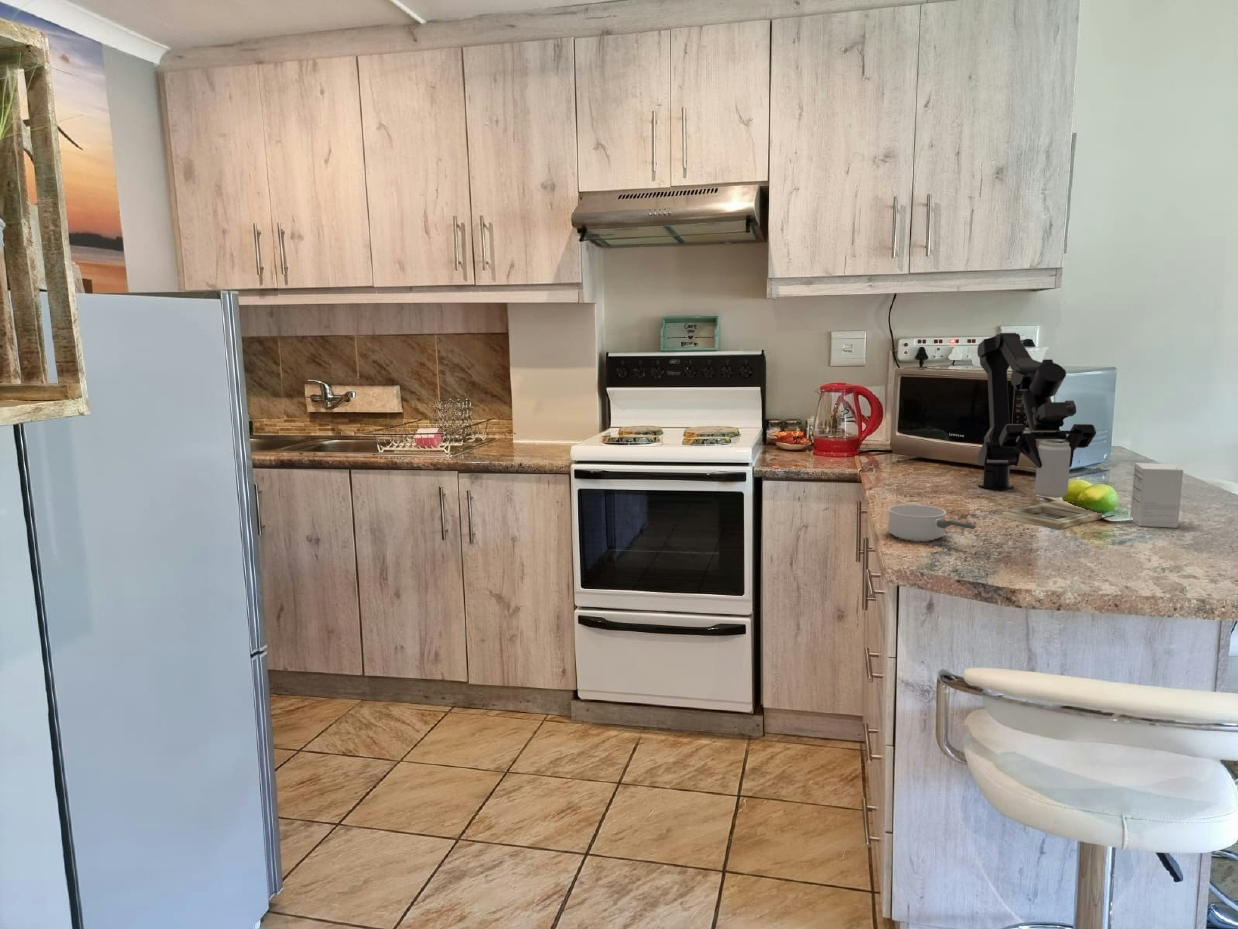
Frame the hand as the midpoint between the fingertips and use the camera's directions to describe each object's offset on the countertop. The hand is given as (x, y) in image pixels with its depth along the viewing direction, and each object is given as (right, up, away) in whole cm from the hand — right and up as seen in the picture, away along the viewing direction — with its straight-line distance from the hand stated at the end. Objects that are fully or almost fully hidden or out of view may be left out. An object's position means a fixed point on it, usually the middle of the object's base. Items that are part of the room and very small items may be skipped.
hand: (1055, 466), depth 178 cm
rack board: (+4, -11, +6) cm, 13 cm away
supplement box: (+20, -12, -2) cm, 23 cm away
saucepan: (-32, -15, -13) cm, 38 cm away
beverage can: (0, -6, +3) cm, 7 cm away
